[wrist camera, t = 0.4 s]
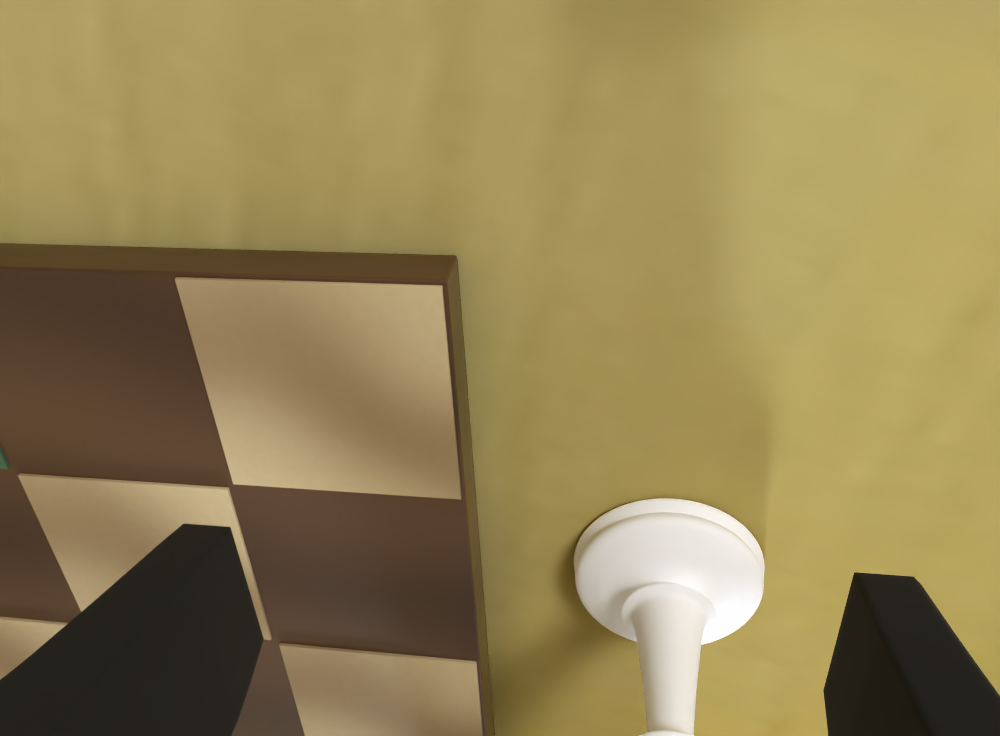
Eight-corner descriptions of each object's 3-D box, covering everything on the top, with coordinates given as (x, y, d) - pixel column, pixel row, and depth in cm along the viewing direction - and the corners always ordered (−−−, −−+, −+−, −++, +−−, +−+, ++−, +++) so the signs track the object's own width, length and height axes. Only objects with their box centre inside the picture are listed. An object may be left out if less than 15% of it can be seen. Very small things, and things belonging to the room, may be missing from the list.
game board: (495, 745, 29) (489, 782, 28) (2, 692, 31) (-22, 724, 30) (457, 254, 19) (446, 283, 18) (-267, 235, 21) (-315, 259, 20)
